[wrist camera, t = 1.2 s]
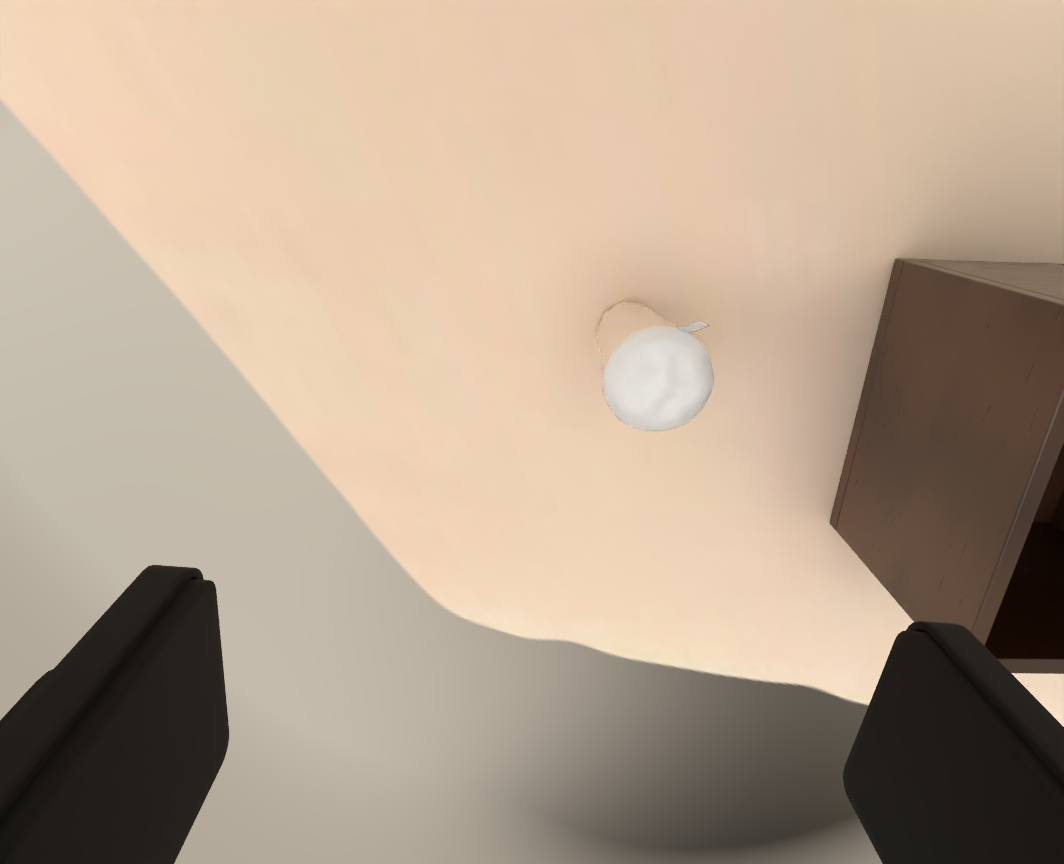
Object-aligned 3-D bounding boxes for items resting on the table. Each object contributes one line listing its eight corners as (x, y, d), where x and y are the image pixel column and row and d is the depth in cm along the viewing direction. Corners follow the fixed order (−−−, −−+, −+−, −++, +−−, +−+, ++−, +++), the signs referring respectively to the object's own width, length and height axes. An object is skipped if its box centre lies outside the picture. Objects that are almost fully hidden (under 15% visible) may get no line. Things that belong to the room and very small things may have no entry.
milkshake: (692, 292, 33) (758, 344, 24) (647, 384, 35) (693, 465, 26) (611, 259, 33) (649, 301, 24) (570, 355, 35) (590, 428, 25)
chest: (1047, 527, 40) (1260, 676, 28) (829, 523, 39) (956, 673, 28) (1152, 267, 34) (1476, 324, 22) (895, 258, 33) (1092, 312, 22)
